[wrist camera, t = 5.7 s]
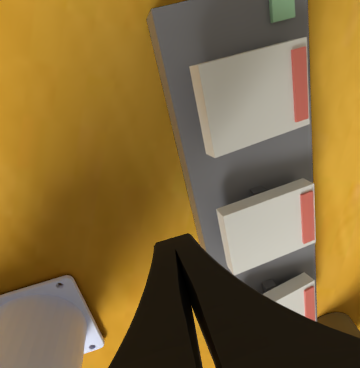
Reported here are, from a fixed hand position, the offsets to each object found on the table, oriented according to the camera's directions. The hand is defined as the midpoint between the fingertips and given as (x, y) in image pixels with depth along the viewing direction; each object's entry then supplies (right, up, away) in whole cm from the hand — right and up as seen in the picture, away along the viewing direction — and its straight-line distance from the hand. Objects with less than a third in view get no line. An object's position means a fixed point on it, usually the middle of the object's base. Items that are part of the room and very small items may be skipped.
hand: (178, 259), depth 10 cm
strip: (+5, +2, +11) cm, 12 cm away
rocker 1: (+4, +7, +4) cm, 9 cm away
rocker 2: (+6, 0, +7) cm, 9 cm away
